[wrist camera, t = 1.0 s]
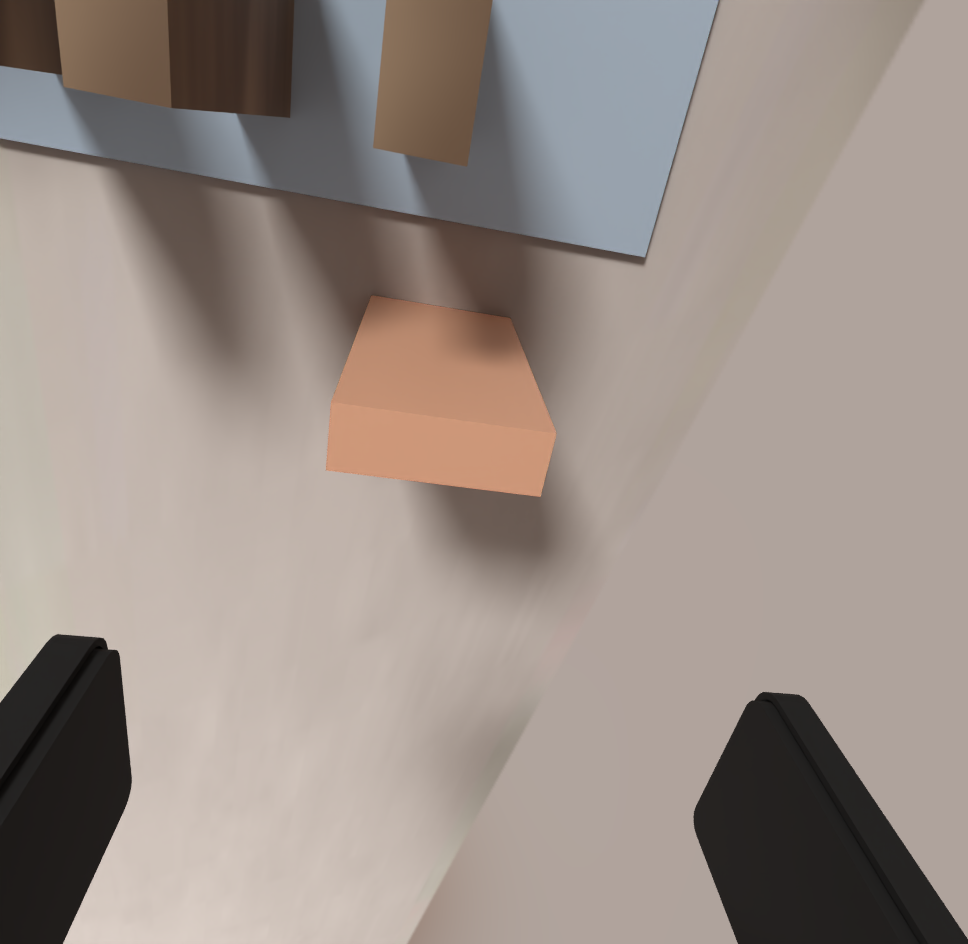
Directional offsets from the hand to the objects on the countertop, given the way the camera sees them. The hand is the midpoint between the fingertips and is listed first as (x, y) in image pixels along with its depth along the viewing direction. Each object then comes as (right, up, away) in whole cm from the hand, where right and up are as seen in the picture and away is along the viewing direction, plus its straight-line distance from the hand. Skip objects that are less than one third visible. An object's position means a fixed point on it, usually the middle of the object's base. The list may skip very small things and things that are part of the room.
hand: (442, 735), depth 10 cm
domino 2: (-1, +19, +13) cm, 23 cm away
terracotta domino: (-1, +10, +18) cm, 21 cm away
